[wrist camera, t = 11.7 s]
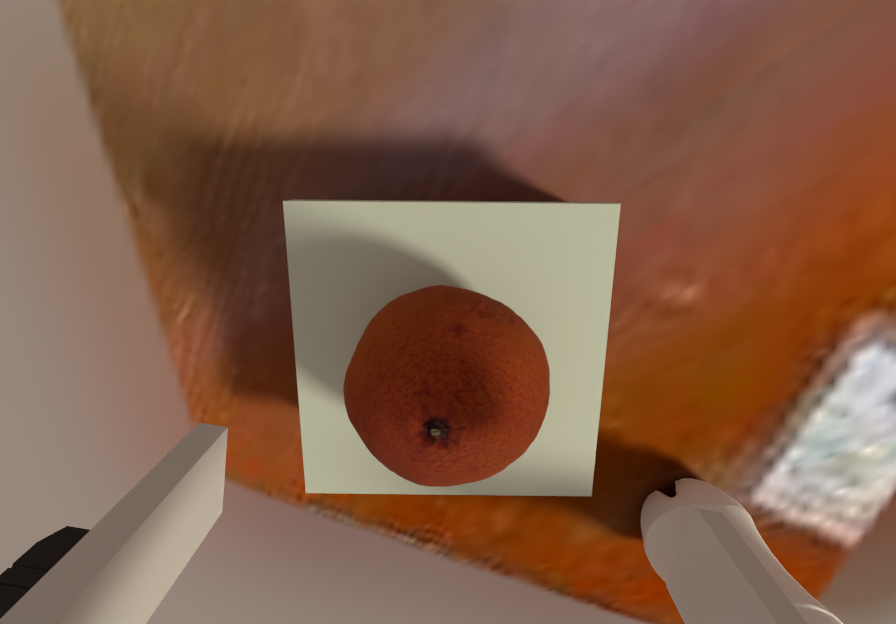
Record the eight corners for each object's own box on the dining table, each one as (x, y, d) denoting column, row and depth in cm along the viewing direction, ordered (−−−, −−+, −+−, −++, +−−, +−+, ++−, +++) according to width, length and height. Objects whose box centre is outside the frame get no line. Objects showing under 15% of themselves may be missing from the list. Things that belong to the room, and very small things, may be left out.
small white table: (320, 195, 30) (282, 200, 23) (582, 197, 30) (620, 203, 23) (334, 430, 34) (305, 492, 28) (564, 433, 34) (591, 496, 28)
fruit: (336, 396, 26) (288, 489, 18) (404, 244, 24) (381, 278, 16) (486, 460, 27) (500, 574, 19) (565, 319, 25) (615, 384, 17)
